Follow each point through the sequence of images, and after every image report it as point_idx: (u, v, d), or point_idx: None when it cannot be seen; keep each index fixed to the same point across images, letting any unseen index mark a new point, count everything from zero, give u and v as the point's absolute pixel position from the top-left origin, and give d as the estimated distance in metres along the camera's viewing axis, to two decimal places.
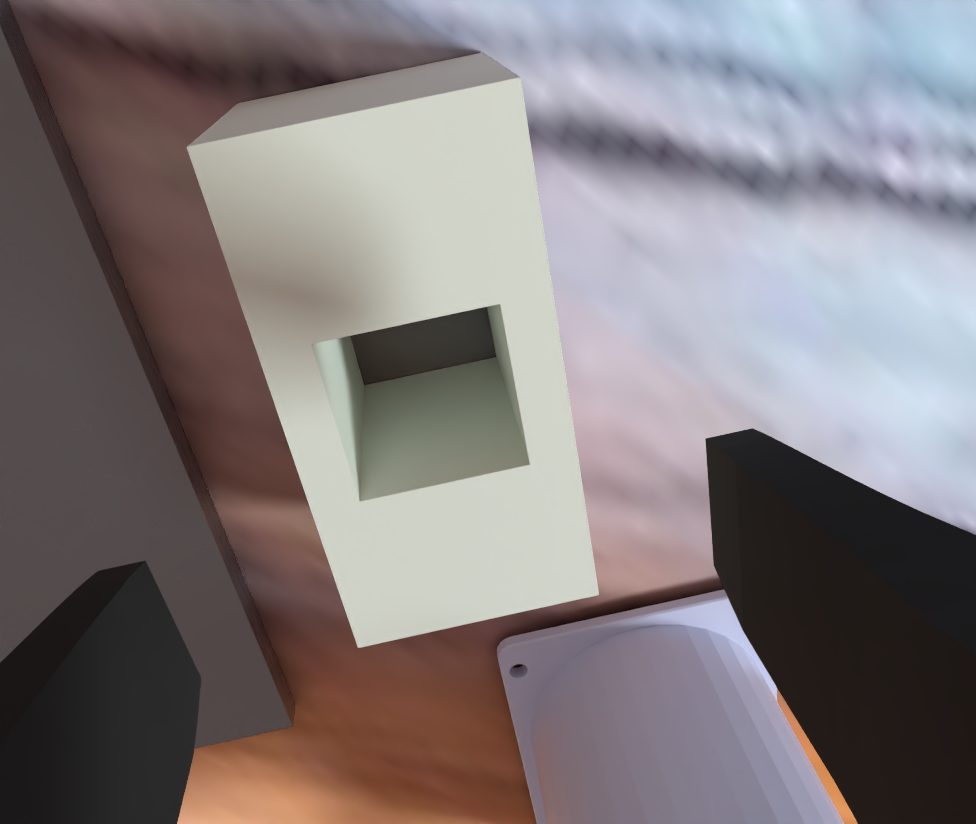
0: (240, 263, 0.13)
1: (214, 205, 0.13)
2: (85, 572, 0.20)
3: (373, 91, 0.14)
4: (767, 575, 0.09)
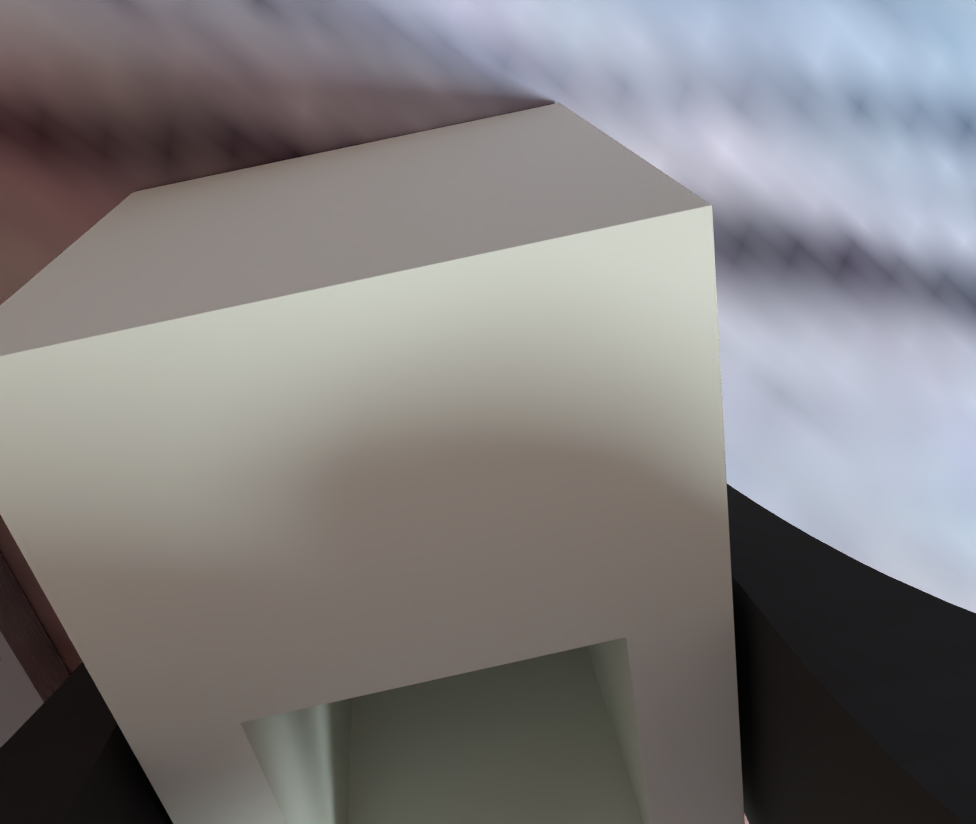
0: (77, 594, 0.06)
1: (4, 490, 0.06)
2: None
3: (368, 200, 0.07)
4: None
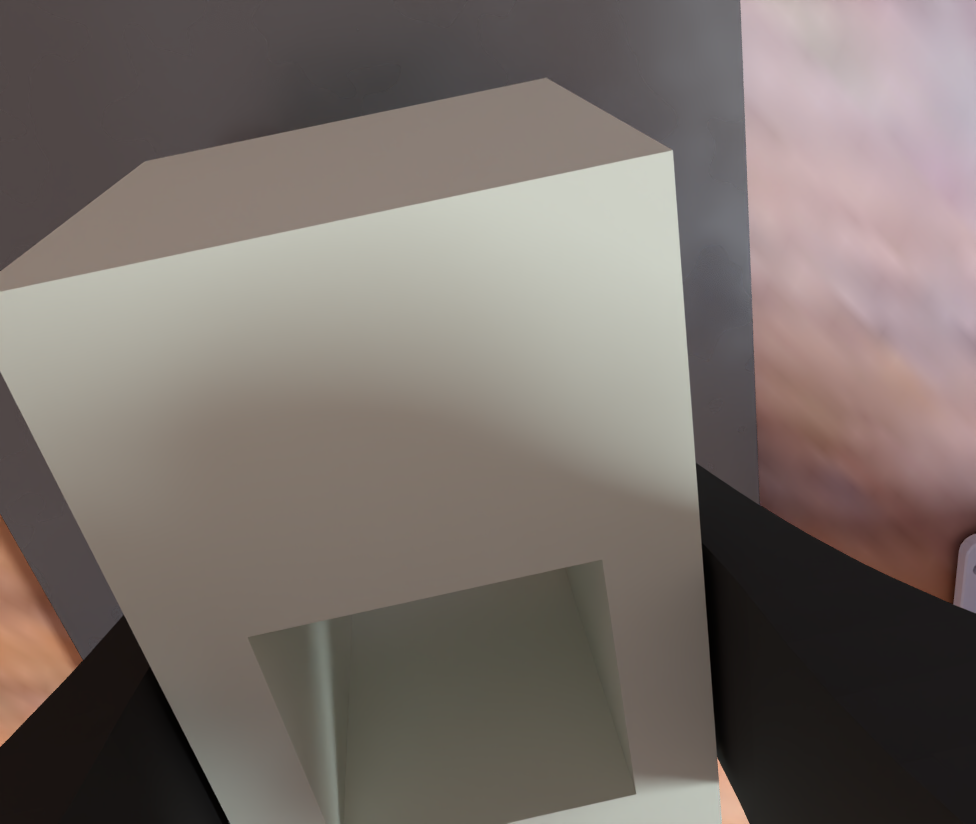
0: (99, 510, 0.07)
1: (35, 410, 0.06)
2: None
3: (364, 159, 0.08)
4: None
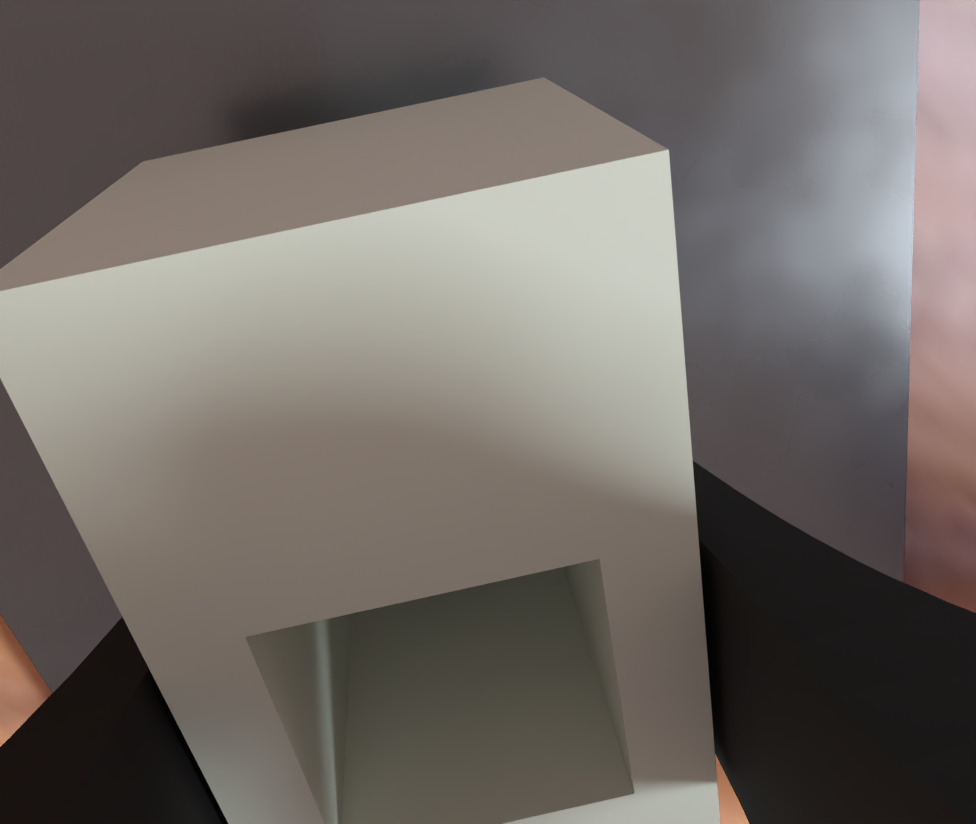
0: (97, 510, 0.07)
1: (32, 410, 0.06)
2: None
3: (362, 158, 0.08)
4: None
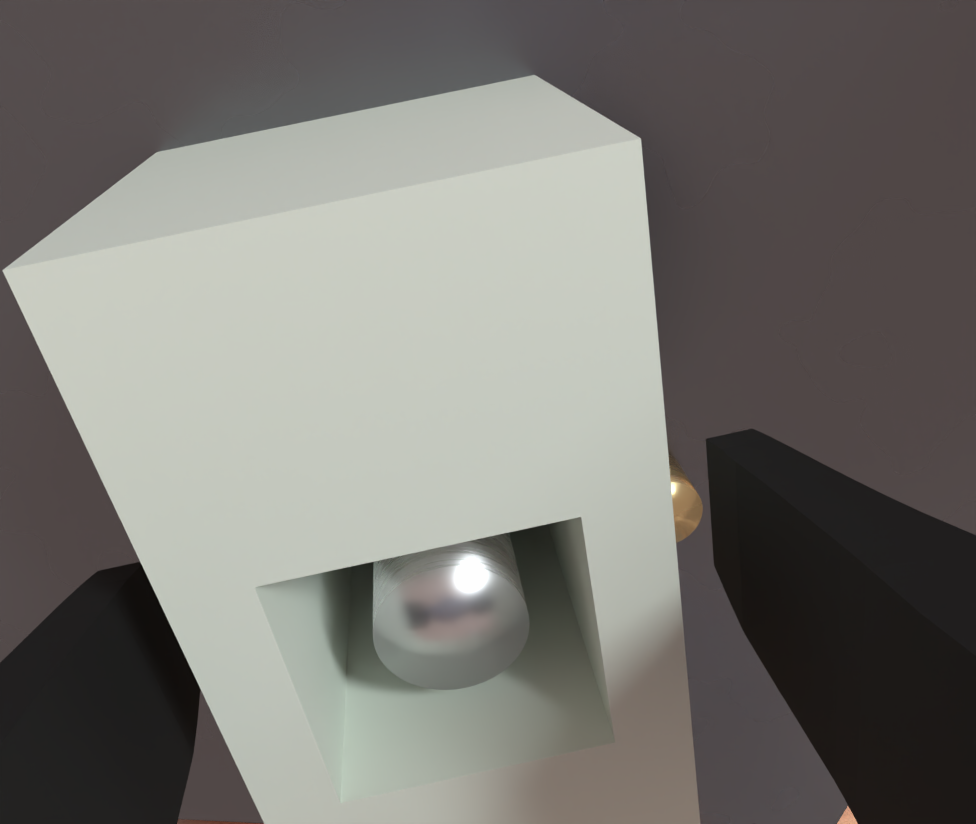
0: (121, 466, 0.07)
1: (65, 372, 0.07)
2: (829, 145, 0.12)
3: (364, 148, 0.08)
4: (767, 575, 0.09)
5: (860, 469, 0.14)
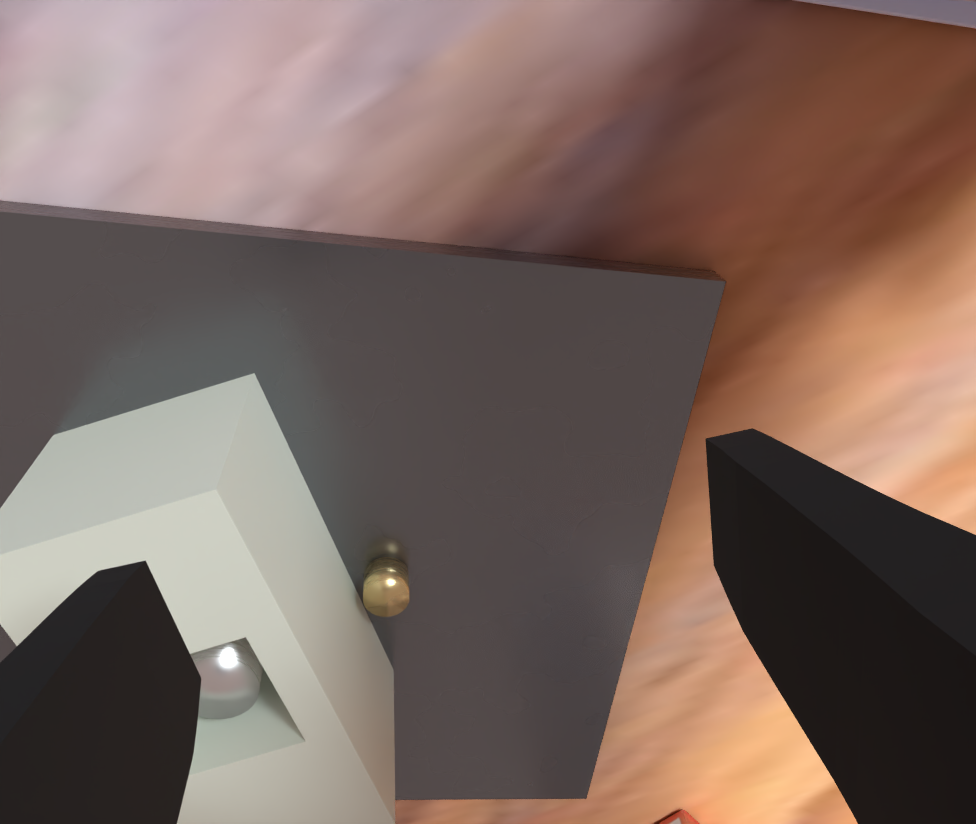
0: (22, 636, 0.16)
1: None
2: (439, 385, 0.20)
3: (131, 464, 0.17)
4: (767, 575, 0.09)
5: (524, 554, 0.23)
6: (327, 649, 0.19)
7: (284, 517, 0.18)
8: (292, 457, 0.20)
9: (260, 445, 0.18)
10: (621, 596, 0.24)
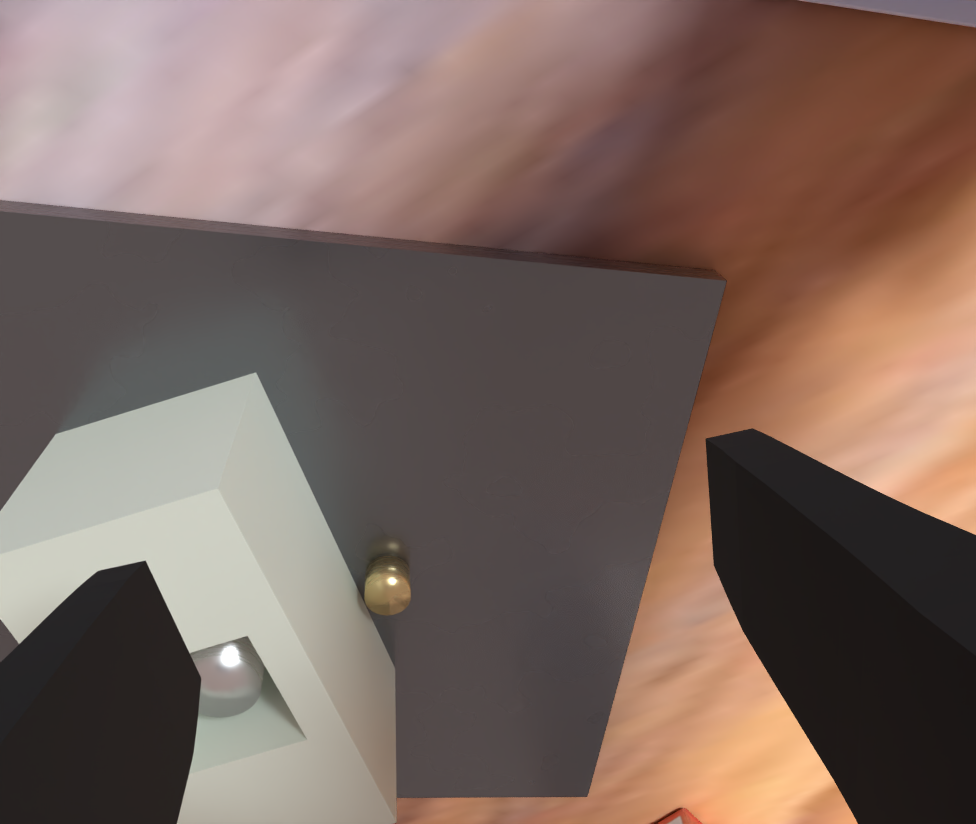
0: (24, 634, 0.16)
1: None
2: (440, 384, 0.20)
3: (133, 463, 0.17)
4: (767, 575, 0.09)
5: (525, 553, 0.23)
6: (328, 648, 0.19)
7: (286, 516, 0.19)
8: (294, 456, 0.21)
9: (261, 444, 0.18)
10: (622, 595, 0.24)
